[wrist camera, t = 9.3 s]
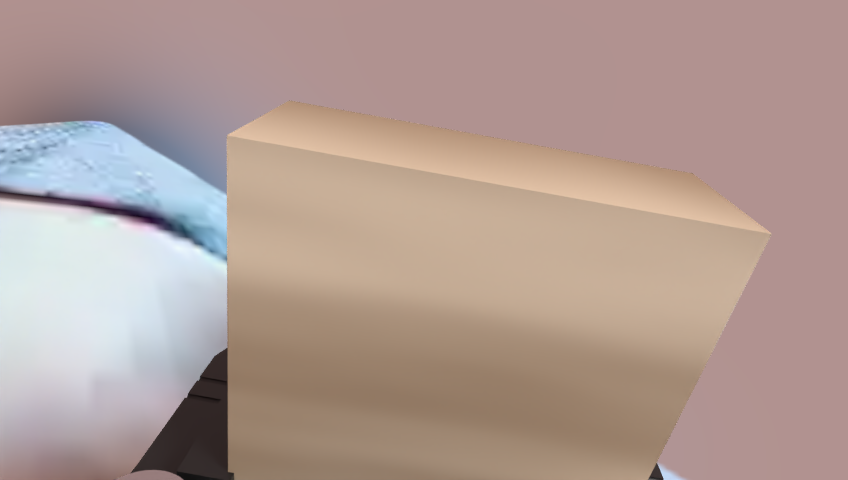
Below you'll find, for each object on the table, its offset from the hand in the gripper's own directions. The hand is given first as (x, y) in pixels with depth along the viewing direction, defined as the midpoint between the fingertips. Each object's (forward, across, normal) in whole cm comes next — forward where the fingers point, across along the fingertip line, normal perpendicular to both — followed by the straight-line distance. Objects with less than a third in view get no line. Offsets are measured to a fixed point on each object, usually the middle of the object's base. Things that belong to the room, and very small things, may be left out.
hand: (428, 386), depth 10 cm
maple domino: (-3, 0, -6) cm, 7 cm away
